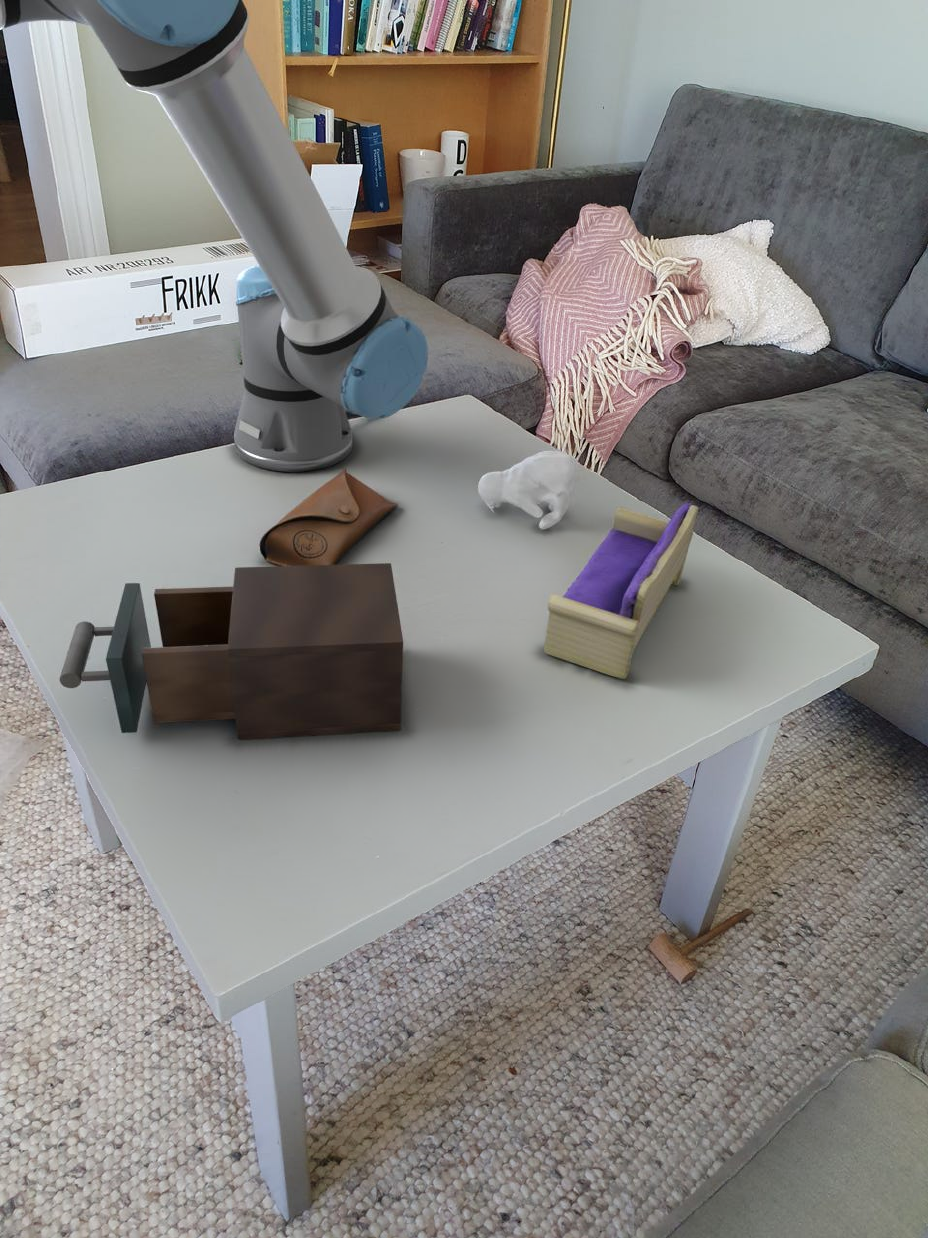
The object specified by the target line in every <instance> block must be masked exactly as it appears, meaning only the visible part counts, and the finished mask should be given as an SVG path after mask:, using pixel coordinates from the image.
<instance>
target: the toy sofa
mask: <svg viewBox="0 0 928 1238" xmlns="http://www.w3.org/2000/svg"><path fill="white" fill-rule="evenodd" d="M698 511H699V507H698V506H697V505H694V504H693V505H692V504H690V503H684V504H683V505H681V506H680V507H679V508H678V509H677V510H676V512H675V513H674V514H673V516H672V517H671V518H670V520H669V521H667V520H664V519H663V520H662V519H660V518H656V517H653V516H649V515H646V514H643V513H640V512H636V511H634V510H630V509H627V508H623V507H618V508H616V510H615V513H614V517H613V522H612V527H611V529H610V530H609V532H608V534H607V535H606V537H605V538H604V540H602V542H601V543H600V545H599V546H598V547H597V549H595V551H594V552H593V554H591V557H590V559H588V562H587V563H586V565H585V567H584V568H583V570H582V571H580V573H579V575H577V577H576V579H575V580H574V581H573V582H572V583H571V585H570V586H569V588H567V590H566V592H565V593H564V595H563V596H561V595H557V594H552V595H551V596H550V598H549V599H548V600H549V601H548V604H547V610H548V611H549V612H548V620H547V624H546V625H547V626H546V631H545V632H546V633H545V639H544V647H543V648H544V649H543V651H544V653H545V654H546V655H549V656H552V657H555V658H557V659H559V660H560V659H561V660H564V661H567V662H569V663H573V664H576V665H578V666H582V667H585V668H587V669H590V670H593V671H596V672H598V673H599V672H600V673H602V674H605V675H607V676H612V677H615V678H617V679H620V680H625V679H627V678H628V675H629V673H630V672H629V671H630V667H631V663H632V657H633V653H634V651H635V649H636V647H637V646H638V643H639V642H640V640H641V638H642V637H643V634H644V632H645V630H646V629H647V627H648V625H649V624H650V622H651V620H652V618H653V617H654V616H655V614H656V611H657V610H658V607H659V606H660V604H661V603H662V601H663V599H664V598H665V596H666V594H667V592H668V590H669V589H670V587H671V585H672V586H678V585H679V584H680V582H681V579H682V578H681V577H682V574H683V571H684V567H685V563H686V559H687V555H688V551H689V548H690V544H691V541H692V540H693V536H694V525H695V522H696V520H697V517H698Z"/></svg>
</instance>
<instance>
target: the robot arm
mask: <svg viewBox="0 0 928 1238" xmlns="http://www.w3.org/2000/svg"><path fill="white" fill-rule="evenodd" d="M42 21H49V22H50V21H53V22H54V21H57V22H58V21H61V22H71V23H78V24H83V25H85V26H90V28H91V29H92V31H93V32H94V34H95V35H96V37H97V38H98V41H99V42H100V43H101V45H102V47H103V48H104V50H105V51H106V53H107V55H108V57H110V60H111V61H112V62H113V64H114V65H115V67H116V69H117V70H118V72H119V74H120V75H121V76H122V78H123V80H124V82H125V83H126V84H127V85H128V87H129V88H131V89H133V90H136V91H139V92H142V93H147V94H150V95H153V96H155V97H156V98H157V100H158V102H159V103H160V106H161V107H162V108H163V110H164V112H165V113H166V114H167V117H168V118H169V120H170V121H171V123H172V125H173V126H174V128H175V130H176V131H177V133H178V135H179V136H180V138H181V139H182V142H183V143H184V145H185V146H186V148H187V149H188V151H189V153H190V154H191V156H192V158H193V159H194V161H195V163H196V164H197V166H198V167H199V169H200V171H201V172H202V174H203V176H204V177H205V179H206V180H207V182H208V184H209V185H210V187H211V190H213V192H214V195H215V196H216V198H217V199H218V200H219V202H220V204H221V205H222V206H223V208H224V210H225V211H226V214H227V215H228V217H229V219H230V220H231V221H232V223H233V225H234V226H235V228H236V229H237V231H238V233H239V235H240V237H241V238H242V240H243V242H244V243H245V245H246V246H247V248H248V250H249V251H250V253H251V254H252V256H253V258H254V259H255V261H256V263H257V264H258V265H257V264H256V265H254V266H251V267H248V268H246V269H244V270H243V271H241V272H240V273H239V274H238V276H237V279H236V292H235V293H236V297H235V306H237V316H238V317H237V318H238V328H239V338H240V339H239V340H240V350H241V363H242V374H243V385H244V386H243V387H244V388H243V389H244V391H243V396H242V400H241V404H240V408H239V412H238V416H237V420H236V424H235V427H234V434H233V441H234V449H235V453H236V454H237V455H238V457H240V458H241V459H242V460H243V461H244V462H247V463H248V464H250V465H252V466H255V467H258V468H261V469H266V470H269V471H275V472H276V471H277V472H288V473H289V472H290V473H294V472H298V473H299V472H309V471H316V470H320V469H321V470H322V469H325V468H328V467H330V466H333V465H336V464H338V463H340V462H341V461H344V460H345V459H346V458H347V457H348V456H349V455H350V454H351V452H352V451H353V432H352V427H351V424H350V421H349V419H350V418H354V417H355V418H356V417H362V418H365V419H369V420H379V419H380V420H382V419H385V418H389V417H391V416H393V415H395V414H397V413H398V412H400V411H401V410H402V409H403V408H404V407H405V406H406V405H407V404H408V403H409V402H410V401H411V400H412V399H413V397H414V396H415V395H416V393H417V391H418V390H419V388H420V386H421V385H422V382H423V380H424V375H425V372H426V370H427V366H428V361H429V347H428V341H427V337H426V335H425V333H424V331H423V329H422V328H421V327H420V326H419V325H418V324H417V323H415V322H414V321H413V320H412V319H411V318H409V317H407V316H404V315H399V314H398V313H397V312H396V311H395V310H394V307H393V306H392V305H391V302H390V300H389V298H388V296H387V294H386V292H385V290H384V288H383V286H382V284H381V282H380V280H379V279H378V277H377V275H376V274H375V272H373V271H372V270H370V269H368V268H365V267H362V266H358V265H356V264H355V263H354V261H353V257H352V256H351V254H350V253H349V251H348V249H347V246H346V245H345V242H344V241H343V238H342V237H341V234H340V232H339V230H338V229H337V226H336V224H335V223H334V220H333V218H332V216H331V215H330V213H329V211H328V209H327V207H326V205H325V203H324V201H323V199H322V196H321V195H320V193H319V191H318V189H317V188H316V185H315V184H314V181H313V179H312V177H311V176H310V173H309V171H308V169H307V167H306V165H305V163H304V161H303V160H302V158H301V156H300V154H299V152H298V149H297V148H296V146H295V143H294V142H293V140H292V138H291V136H290V134H289V132H288V130H287V128H286V126H285V124H284V121H283V119H282V118H281V116H280V114H279V112H278V109H276V106H275V104H274V102H273V100H272V98H271V96H270V94H269V92H268V90H267V89H266V86H265V83H264V82H263V80H262V78H261V77H260V74H259V73H258V70H257V69H256V66H255V65H254V62H253V61H252V59H251V56H250V54H249V53H248V50H247V49H246V46H245V37H246V33H247V31H248V26H249V23H250V14H249V12H248V9H247V7H246V5H245V2H244V1H243V0H0V30H4V29H6V28H10V27H13V26H17V25H20V24H24V23H33V22H42ZM345 410H346V411H345Z"/></svg>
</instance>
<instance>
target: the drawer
mask: <svg viewBox="0 0 928 1238" xmlns="http://www.w3.org/2000/svg"><path fill="white" fill-rule="evenodd" d="M232 595H233V586H208V587H207V586H206V587H205V586H203V587H178V588H177V587H175V588H174V587H173V588H172V587H171V588H155V589H154V592H153V597H154V602H155V608H156V615H157V620H158V627H159V632H160V638H161V644H162V645H161V646H158V647H157V646H156V647H155V646H154V647H152V646H151V640H150V639H151V638H150V634H149V628H148V623H147V615H146V611H145V605H144V601H143V600H144V599H143V593H142V588H141V583H140V582H127V583H124V587H123V590H122V595H121V598H120V603H119V605H118V606H119V607H118V611H117V613H116V618H115V622H114V625H113V626H95V625H94V624H93V623H91V622H89V621H80V622H77V624H76V626H75V628H74V631H73V634H72V637H71V641H70V643H69V648H68V651H67V652H66V657H65V660H64V663H63V666H62V669H61V672H60V675H59V679H58V680H59V683H60V685H61V686H63V687H64V688H67V689H75V688H76V689H77V688H78V687H79V686H80V685H81V683H82V682H101V681H102V682H104V681H109V682H110V685H111V691H112V694H113V699H114V704H115V708H116V713H117V718H118V723H119V727H120V732H121V734H131V733H132V734H133V733H134V734H135V733H137V732H138V727H139V723H140V717H141V712H142V708H143V702H144V697H145V692H146V687H147V692H148V698H149V701H150V702H149V703H150V709H151V713H152V719H153V720H152V721H153V723H154V724H159V723H160V724H161V723H177V722H178V723H179V722H182V723H183V722H195V721H196V722H197V721H198V722H199V721H215V720H217V721H218V720H219V721H220V720H234V719H235V710H234V702H233V693H232V684H231V675H230V666H229V657H228V639H229V628H230V617H231V606H232ZM105 636H106V637H108V636H111V637H110V641H109V645H108V648H107V652H106V657H105V662H106V667H107V670H89V671H87V670H86V671H85V669H86V666H87V662H88V659H89V656H90V652H91V648H92V645H93V641H94V638H95V637H105ZM235 720H236V719H235Z"/></svg>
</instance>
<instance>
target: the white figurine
mask: <svg viewBox="0 0 928 1238" xmlns="http://www.w3.org/2000/svg"><path fill="white" fill-rule="evenodd" d="M579 479H580V463H579V462H578V460H577V459H576V457H575V456H574V455H572V454H568V453H567V452H564V451H559V450H544V451H540V452H537V453H536V454H534V455H531V456H528V457H526V458H524V459H523V460H522V461H521V462H518V463H515V464H514V465H513V466H511V468H506V469H505V470H504V471H490V472H486V473H485V474H484V475H482V477H481V478H480V479H479V481H478V485H477V486H478V487H477V490H478V495H479V496H480V498H482V499H483V501H484V502H485V504H486V505H487V507H488V508H489V509H490V510H491V512H493V513H495V511H494V509H495V508H496V509H497V508H500V507H501V505H502V503H508V504H511V505H513V506H515V507H517V508H520V509H521V510H523V511H524V512H525V513H527V514H529V515H530V516H531V517H534V518H537V519H540V518H541V520H540V522H539V524H538V528H539V529H540V530H543V531H544V530H548V529H549V528H551V527H553V526H555V525H556V524H557V523H559V522H560V521H561V520H562V518H563V516H564V515H565V513H566V512H567V510H568V509H569V508H570V506H571V504H572V502H573V501H574V499H575V497H576V493H577V486H578V482H579ZM542 503H547V504H548V509H549V510H550V511H551V512H549V513H546V514H545V515H544V511H543V509H541V508H540V507H539V505H540V504H542Z"/></svg>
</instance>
